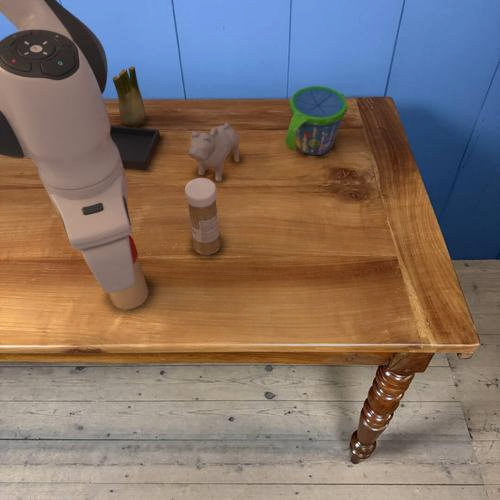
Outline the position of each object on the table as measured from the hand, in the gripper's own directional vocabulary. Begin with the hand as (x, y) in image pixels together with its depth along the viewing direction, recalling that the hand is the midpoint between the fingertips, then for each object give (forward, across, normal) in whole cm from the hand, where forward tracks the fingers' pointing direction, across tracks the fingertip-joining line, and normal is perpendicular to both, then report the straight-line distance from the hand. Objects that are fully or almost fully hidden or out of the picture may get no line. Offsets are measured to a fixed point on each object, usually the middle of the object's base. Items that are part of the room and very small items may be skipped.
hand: (115, 256), depth 63 cm
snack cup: (+10, -22, +42) cm, 49 cm away
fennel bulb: (+10, -42, +11) cm, 45 cm away
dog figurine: (+10, -22, +22) cm, 33 cm away
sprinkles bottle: (+10, -5, +14) cm, 18 cm away
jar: (+10, 0, 0) cm, 10 cm away
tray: (+9, -36, +4) cm, 37 cm away
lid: (-1, 0, 0) cm, 1 cm away
